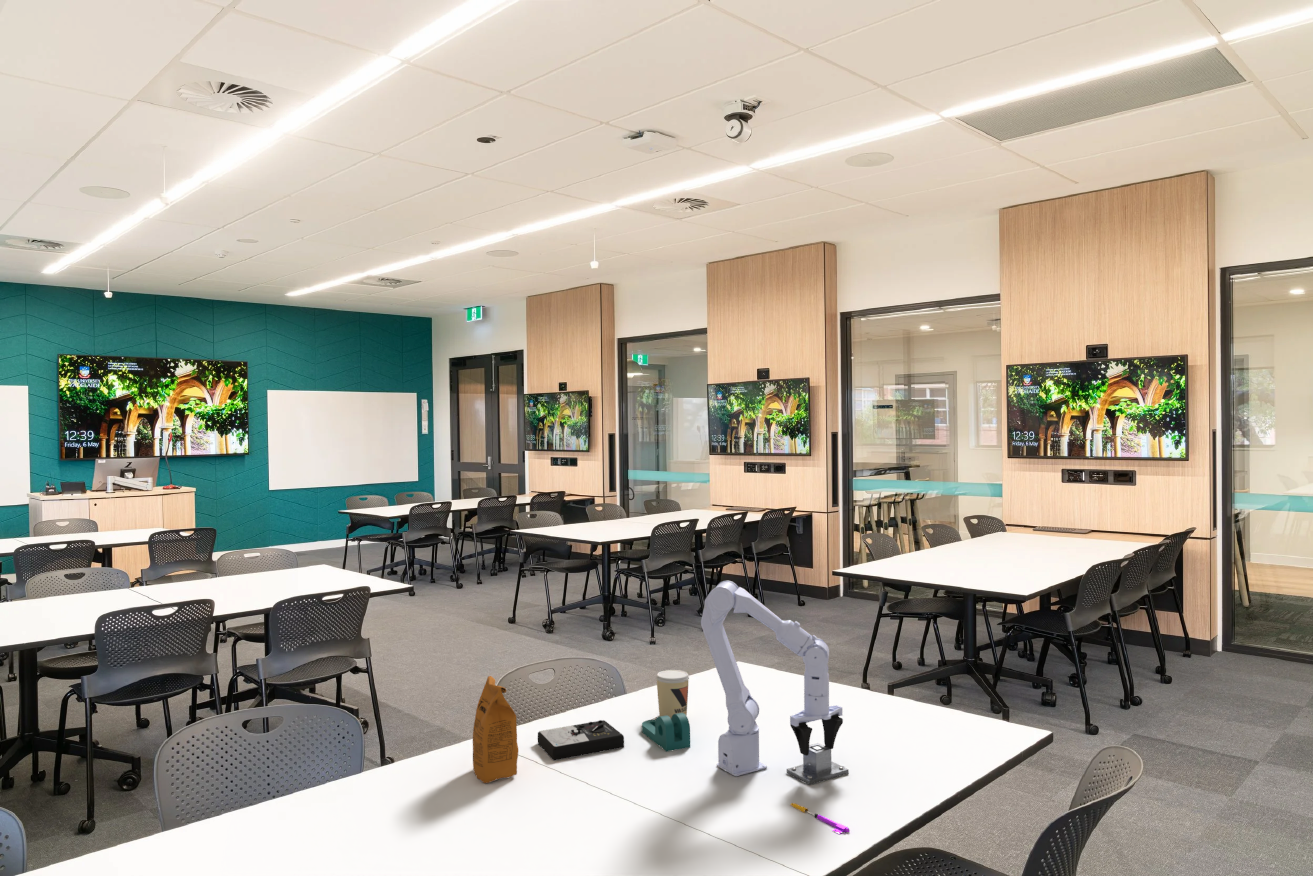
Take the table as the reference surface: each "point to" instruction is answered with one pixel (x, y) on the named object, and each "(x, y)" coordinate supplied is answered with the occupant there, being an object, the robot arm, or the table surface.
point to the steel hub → (818, 759)
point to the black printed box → (580, 740)
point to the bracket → (669, 731)
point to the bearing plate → (813, 778)
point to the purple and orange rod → (823, 819)
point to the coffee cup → (672, 692)
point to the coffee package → (494, 735)
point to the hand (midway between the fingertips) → (816, 750)
